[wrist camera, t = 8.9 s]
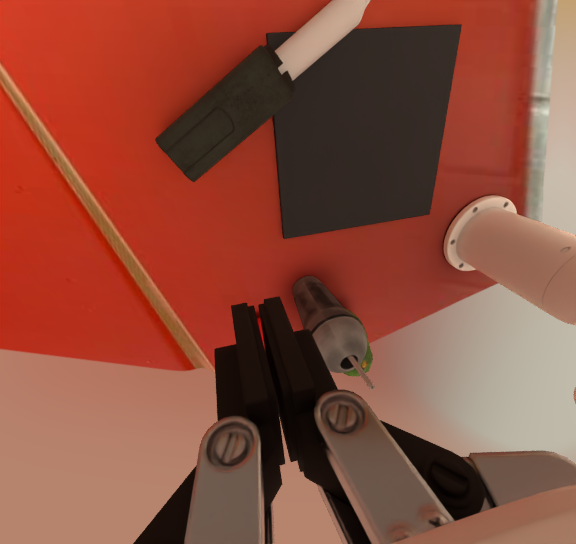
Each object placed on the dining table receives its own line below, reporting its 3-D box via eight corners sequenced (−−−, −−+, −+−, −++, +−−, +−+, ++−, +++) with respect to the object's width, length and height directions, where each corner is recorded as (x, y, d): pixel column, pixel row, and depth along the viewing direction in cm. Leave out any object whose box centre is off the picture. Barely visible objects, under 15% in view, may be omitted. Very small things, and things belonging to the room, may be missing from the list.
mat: (458, 25, 35) (462, 24, 34) (427, 213, 46) (429, 214, 45) (266, 33, 31) (267, 32, 30) (283, 237, 42) (284, 239, 41)
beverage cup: (279, 308, 47) (325, 425, 31) (288, 266, 44) (345, 370, 27) (323, 309, 50) (388, 418, 33) (334, 268, 46) (413, 366, 30)
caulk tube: (153, 140, 28) (383, -66, 25) (161, 134, 33) (358, -41, 29) (193, 184, 31) (407, 4, 27) (196, 173, 35) (381, 17, 32)
